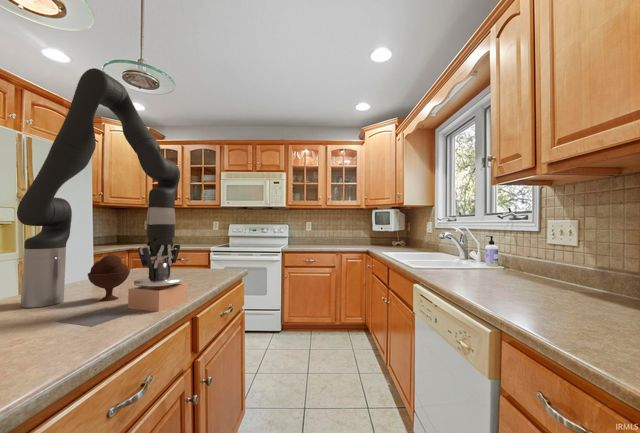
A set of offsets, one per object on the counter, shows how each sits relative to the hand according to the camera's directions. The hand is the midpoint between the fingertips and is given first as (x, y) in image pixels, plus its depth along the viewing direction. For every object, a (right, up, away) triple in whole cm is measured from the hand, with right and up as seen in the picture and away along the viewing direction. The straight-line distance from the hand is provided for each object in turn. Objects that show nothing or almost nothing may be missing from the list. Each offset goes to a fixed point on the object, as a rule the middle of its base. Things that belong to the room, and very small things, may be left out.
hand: (159, 279), depth 83 cm
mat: (-9, -8, -11) cm, 16 cm away
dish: (0, -8, 0) cm, 8 cm away
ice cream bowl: (-19, -8, +5) cm, 22 cm away
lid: (0, -1, 0) cm, 1 cm away
